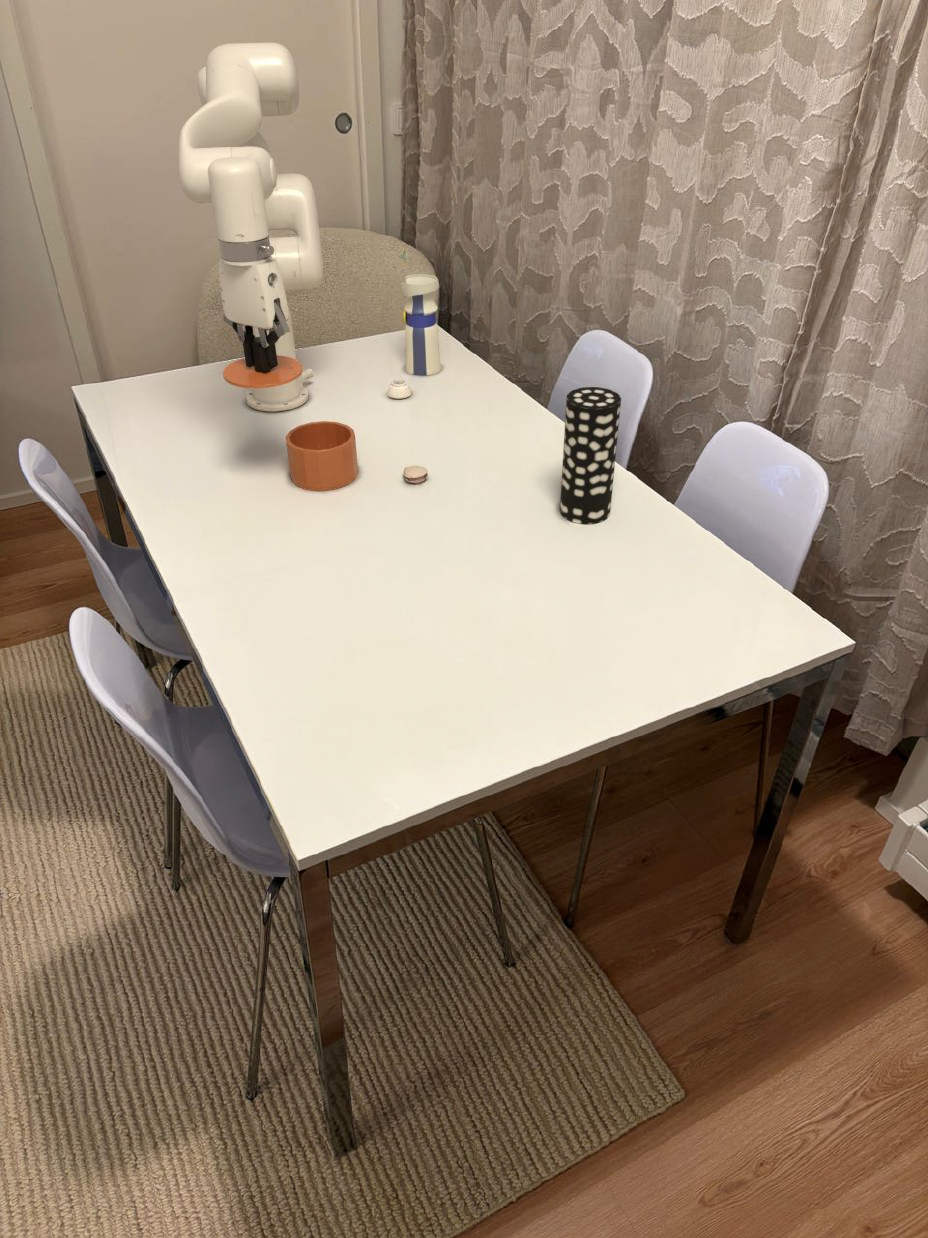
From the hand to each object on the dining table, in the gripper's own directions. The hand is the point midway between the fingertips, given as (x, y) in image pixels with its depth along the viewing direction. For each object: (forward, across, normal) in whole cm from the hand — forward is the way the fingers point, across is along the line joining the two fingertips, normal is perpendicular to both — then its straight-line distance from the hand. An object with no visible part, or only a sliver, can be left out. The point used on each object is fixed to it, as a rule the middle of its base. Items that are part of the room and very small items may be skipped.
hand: (262, 365), depth 152 cm
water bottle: (+21, +6, -55) cm, 60 cm away
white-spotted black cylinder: (+21, -51, -18) cm, 58 cm away
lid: (+1, 0, 0) cm, 1 cm away
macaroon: (+21, -20, -13) cm, 32 cm away
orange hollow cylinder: (+21, -5, -6) cm, 23 cm away
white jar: (+21, +3, -41) cm, 46 cm away
